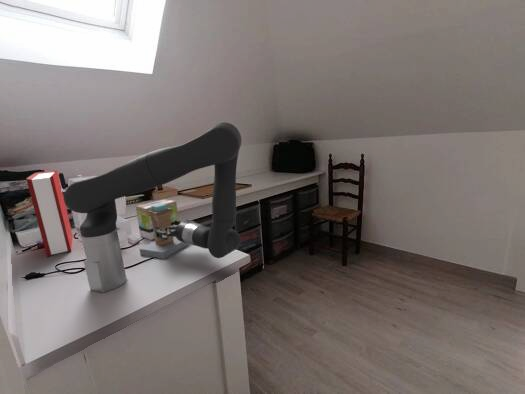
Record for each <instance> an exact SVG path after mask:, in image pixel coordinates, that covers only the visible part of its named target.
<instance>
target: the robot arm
mask: <svg viewBox="0 0 525 394" xmlns="http://www.w3.org/2000/svg"><path fill="white" fill-rule="evenodd" d="M241 147H242V135H241V133H240V131H239V129H238V128H237V127H236V126H235V125H234V124H232V123H229V122H225V121H224V122H219V123H216V124H215V125H214V126H212V127H211V128H209V129H208V130H207V131H205V132H204V133H202V134H201V135H198V136H197V137H195V138H193V139H191V140H189V141H186V142H185V143H181V144H179V145H175V146H174V145H173V146H168V147H164V148H160V149H156V150H153V151H150V152H146V153H145V154H142V155H140V156H138V157H136V158H134V159H131V160H130V161H127V162H125V163H123V164H121V165H119V166H117V167H114V168H113V169H111V170H110V171H108V172H105V173H103V174H100V175H97V176H94V177H91V178H90V177H89V178H85V179H81V180H78V181H77V180H76V181H75V182H73V183H71V184H70V185H69V186H67V188H66V189H65V192H64V193H63V197H64V202H65V206H66V208H68V209H69V210H71V211H72V212H75V213H78V214H86V217H85V219H84V221H83V222H82V223H81V224H80V226H79V233H80V237H81V240H82V245H83V249H84V254H85V258H86V259H85V260H84V261H83V264H84V270H85V274H86V276H87V281H88V286H89V289H90V290H91V291H95V292H99V293H102V294H103V293H106V292H108V291H111V290H112V291H113V290H114V289H117V288H119V287H121V286H122V285H124V284H125V283H126V281H127V280H128V279H127V278H128V277H127V273H126V270H125V264H124V259H123V252H122V250H121V249H122V248H121V245H120V244H121V243H120V239H119V234H118V229H117V220H118V212H117V211H118V210H117V205H116V200H118V199H122V198H124V197H128V196H131V195H132V196H133V195H136V194H139V193H143V192H146V191H150V190H152V189H155V188H158V187H160V186H164V185H166V184H167V183H168V184H169V183H170V182H172V181H175V180H177V179H179V178H181V177H184V176H186V175H187V174H190V173H192V172H194V171H197V170H200V169H204V168H207V167H211V166H214V175H213V176H214V179H213V187H212V198H211V199H212V200H211V212H212V214H211V215H212V216H211V217H212V221H211V224H210V227H209V226H205V225H202V224H199V223H197V221H194V220H191V219H186V220H179V219H178V220H179V221H178V220H175V225H174V226H167V227H166V228H160V227H155V228H154V230H155V233H156V237H157V238H160V239H164V240H167V239H168V237H169V236H173V237H176V238H177V239H178V240H179V241H181V242H184V243H187V244H188V245H190V246H195V247H198V248H202V249H205V250H206V249H207V250H208V252H209V253H210V255H211V256H212V257H213V258H217V259H221V258H224V257H226V256H227V255H229V254H231V253H232V252H234V251H236V250H237V249H239V248H240V246H241V244H242V238H241V235H240V234H239V232H238V231H237V230H235V229H234V228H233V227H234V226H235V225H236V222H237V188H236V187H237V184H236V183H237V166H238V158H239V152H240V149H241ZM168 229H170V233H169V230H168ZM163 230H165V232H164V231H163Z"/></svg>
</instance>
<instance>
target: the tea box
mask: <svg viewBox="0 0 525 394" xmlns="http://www.w3.org/2000/svg"><path fill="white" fill-rule="evenodd" d="M157 204H166V206H167V208H170V209H172V214H170V220H171V226H174V225H175V220H178V221H180V220H179V213H178V205H177V201H176V200H170V199H161V200H157V201H152V202H148V203H143V204H139V205H136V206H135V210H136V217H137V223H138V224H137V225H138V230H139V236H140V237H142V238H144V239H148V240H149V241H153V240H155V238H154V232H153V226H152V220H151V216H148V212H147V211H149V210H152V208H151V206H153V205H157Z"/></svg>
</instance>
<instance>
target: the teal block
mask: <svg viewBox="0 0 525 394" xmlns="http://www.w3.org/2000/svg"><path fill="white" fill-rule="evenodd" d="M151 208H152V212H156V213H157V212H161V211H164V210H167V206H166V204H157V205H153V206H151Z"/></svg>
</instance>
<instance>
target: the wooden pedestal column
mask: <svg viewBox="0 0 525 394" xmlns="http://www.w3.org/2000/svg"><path fill="white" fill-rule="evenodd" d="M147 212H148V216H151V220H152V226H153V232H154V238H155V239H154V241H155V244H156V245H159V246H161V247H164V246H166V245H169V244H171V243H174V241H173V237H174V236H169V237H168V239H167V240H164V239H160V238H157V237H156V233H155V230H154V228H155V227H160V228H166V227H167V226H171V220H170V214H172V209H170V208H167V210H164V211H161V212H157V213H156V212H152V210H149V211H147ZM168 230H169V233H170V229H168ZM163 231H164V232H165V230H163Z"/></svg>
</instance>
